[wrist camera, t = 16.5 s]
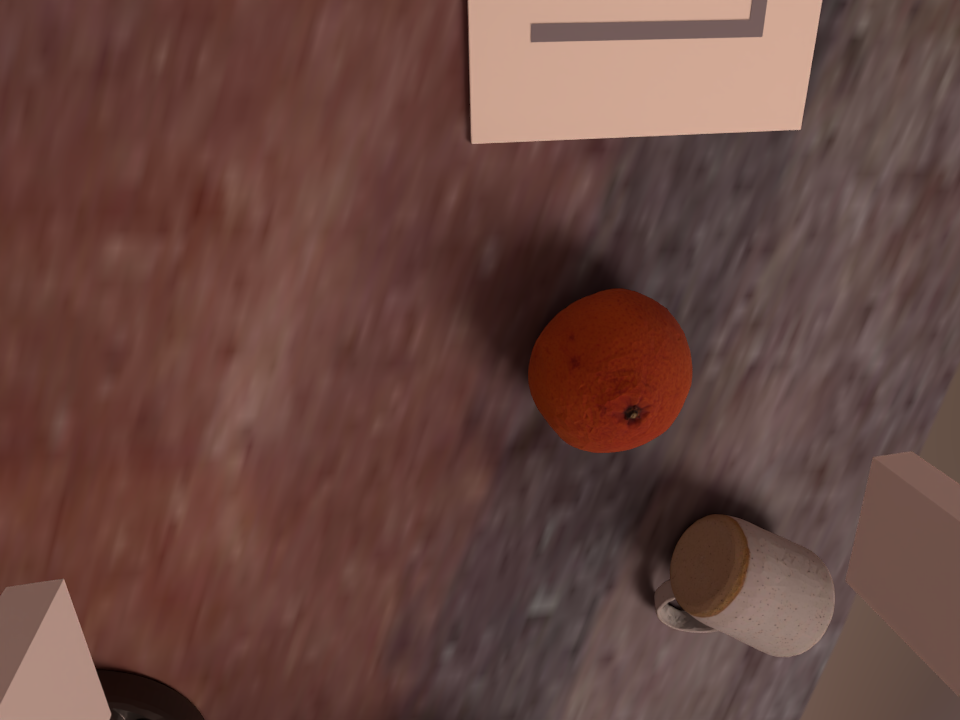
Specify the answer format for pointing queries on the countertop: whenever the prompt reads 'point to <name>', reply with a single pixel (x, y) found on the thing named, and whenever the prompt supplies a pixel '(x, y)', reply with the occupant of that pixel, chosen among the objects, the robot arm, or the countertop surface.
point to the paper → (637, 67)
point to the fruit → (610, 371)
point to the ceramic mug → (747, 587)
